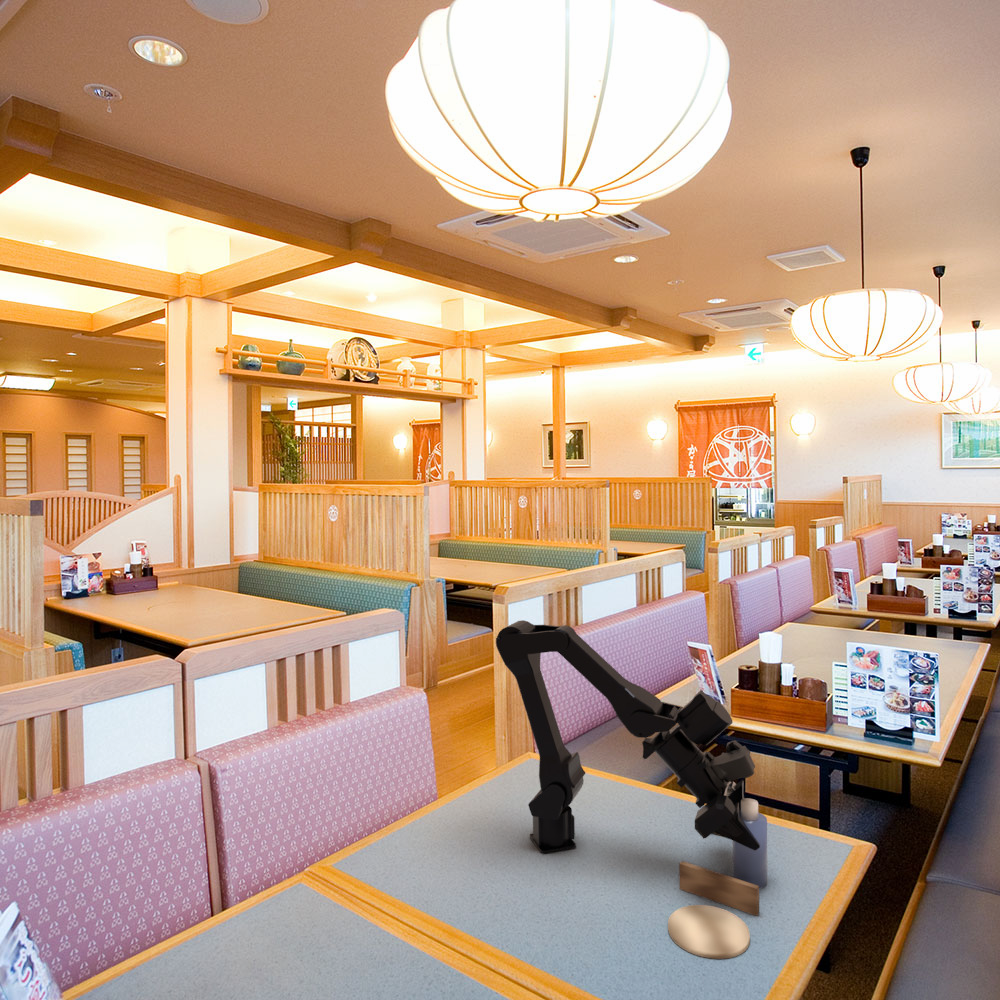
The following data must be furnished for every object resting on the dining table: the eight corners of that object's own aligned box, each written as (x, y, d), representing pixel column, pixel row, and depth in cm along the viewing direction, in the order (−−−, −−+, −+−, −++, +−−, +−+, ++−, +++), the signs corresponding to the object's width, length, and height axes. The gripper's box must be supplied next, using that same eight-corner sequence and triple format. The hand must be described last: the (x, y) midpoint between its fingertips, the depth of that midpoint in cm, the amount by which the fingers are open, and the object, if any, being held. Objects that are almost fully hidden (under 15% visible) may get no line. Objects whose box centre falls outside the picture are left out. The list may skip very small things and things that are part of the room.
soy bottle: (746, 891, 113) (745, 811, 113) (726, 874, 118) (725, 797, 118) (774, 885, 114) (773, 806, 114) (753, 868, 119) (753, 792, 119)
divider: (679, 888, 114) (679, 863, 114) (682, 886, 115) (681, 860, 115) (757, 916, 107) (756, 889, 106) (759, 912, 107) (759, 885, 107)
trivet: (695, 966, 96) (695, 960, 96) (653, 918, 106) (653, 913, 106) (766, 949, 99) (766, 943, 99) (719, 904, 110) (719, 899, 110)
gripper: (716, 751, 108) (797, 837, 105) (728, 713, 126) (798, 786, 122) (663, 795, 112) (739, 881, 108) (682, 753, 129) (748, 825, 125)
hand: (759, 840), depth 115 cm, fingers closed on soy bottle, 5 cm apart
